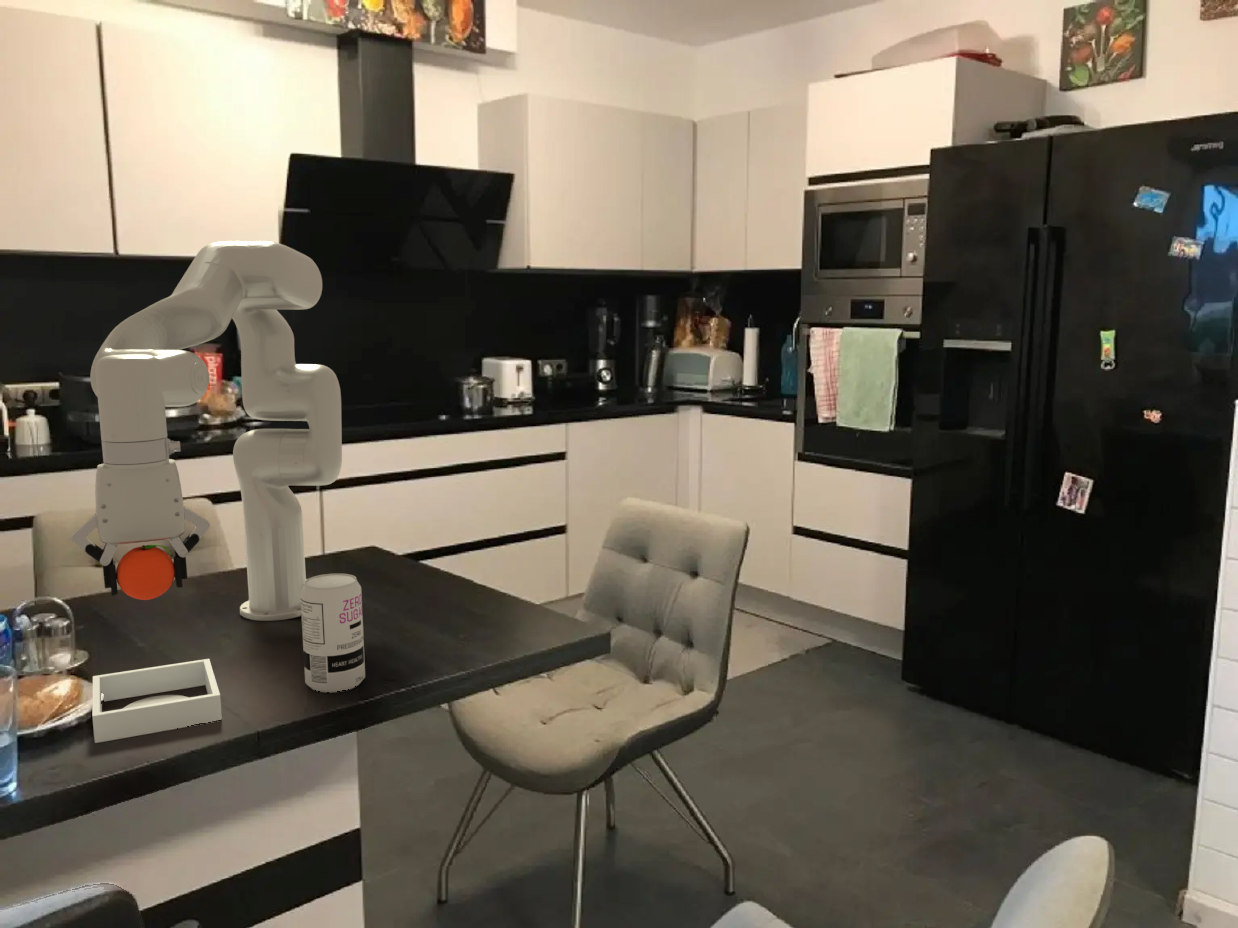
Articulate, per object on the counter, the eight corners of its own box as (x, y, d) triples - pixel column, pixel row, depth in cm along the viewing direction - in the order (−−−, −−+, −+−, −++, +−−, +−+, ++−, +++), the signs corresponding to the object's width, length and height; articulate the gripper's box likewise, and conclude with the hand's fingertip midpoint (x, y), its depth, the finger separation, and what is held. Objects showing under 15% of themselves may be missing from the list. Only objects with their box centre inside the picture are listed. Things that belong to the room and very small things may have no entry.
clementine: (153, 586, 137) (149, 534, 135) (194, 591, 134) (191, 539, 133) (105, 603, 129) (100, 549, 128) (148, 609, 127) (144, 554, 126)
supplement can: (312, 673, 147) (306, 573, 145) (369, 671, 148) (365, 571, 145) (299, 695, 139) (293, 589, 137) (360, 693, 140) (355, 588, 137)
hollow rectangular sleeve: (210, 682, 144) (209, 658, 143) (221, 720, 131) (220, 694, 130) (95, 700, 137) (92, 676, 137) (94, 742, 124) (92, 716, 124)
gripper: (206, 444, 135) (216, 573, 138) (58, 453, 128) (71, 590, 131) (212, 452, 129) (221, 587, 132) (56, 462, 121) (70, 606, 124)
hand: (147, 587), depth 131 cm, fingers closed on clementine, 7 cm apart
